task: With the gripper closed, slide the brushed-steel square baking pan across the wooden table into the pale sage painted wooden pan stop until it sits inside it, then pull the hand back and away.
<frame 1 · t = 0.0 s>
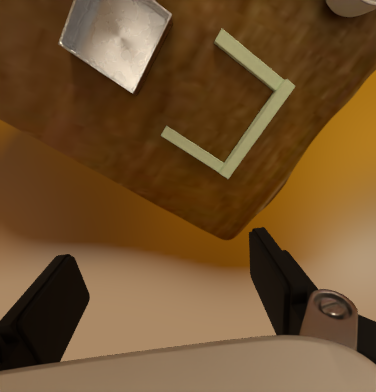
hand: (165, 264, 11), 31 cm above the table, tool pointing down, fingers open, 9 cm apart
pan stop: (217, 107, 37), on the table
baking pan: (120, 37, 33), on the table
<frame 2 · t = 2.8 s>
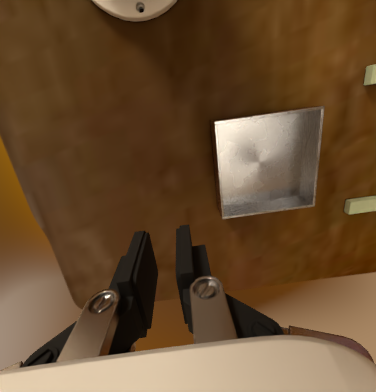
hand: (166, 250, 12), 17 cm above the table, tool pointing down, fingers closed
baking pan: (258, 161, 28), on the table
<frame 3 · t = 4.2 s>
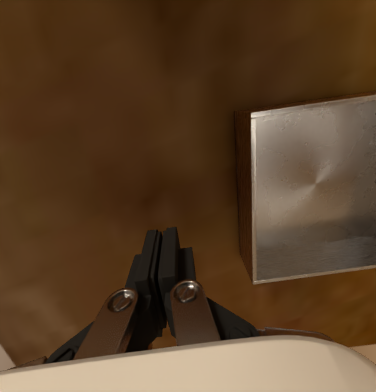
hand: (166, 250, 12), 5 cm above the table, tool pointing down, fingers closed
baking pan: (313, 182, 16), on the table
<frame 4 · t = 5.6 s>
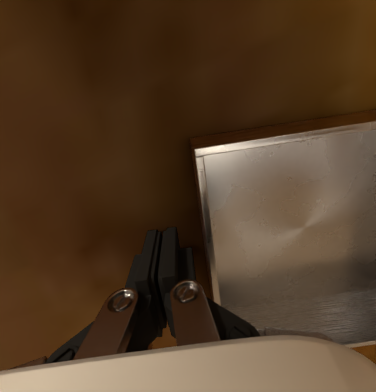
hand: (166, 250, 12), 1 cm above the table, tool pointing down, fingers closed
baking pan: (301, 224, 13), on the table, touching gripper
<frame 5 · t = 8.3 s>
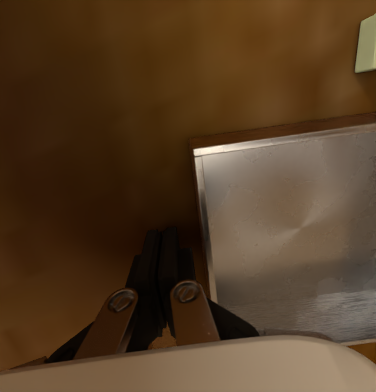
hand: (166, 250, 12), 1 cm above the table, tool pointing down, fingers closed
baking pan: (298, 225, 13), on the table, touching gripper
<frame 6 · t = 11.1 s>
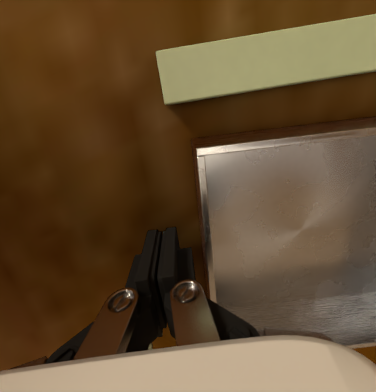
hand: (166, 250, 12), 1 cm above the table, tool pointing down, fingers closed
pan stop: (290, 222, 13), on the table
baking pan: (298, 227, 13), on the table, touching gripper
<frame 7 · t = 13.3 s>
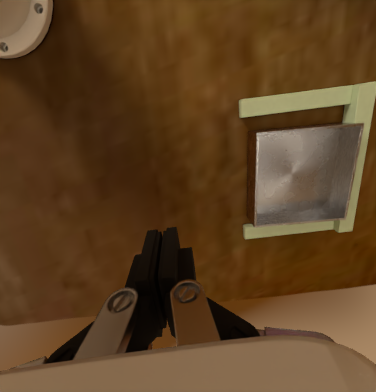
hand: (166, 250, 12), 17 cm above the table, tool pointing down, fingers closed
pan stop: (286, 170, 28), on the table
baking pan: (290, 172, 29), on the table, touching pan stop
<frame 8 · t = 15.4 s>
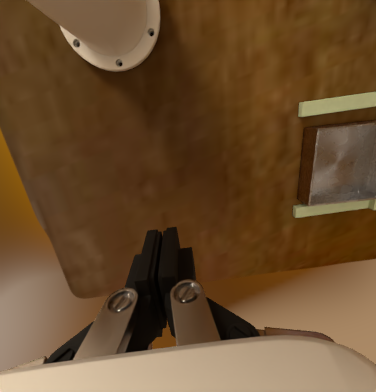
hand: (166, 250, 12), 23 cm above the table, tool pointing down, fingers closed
pan stop: (332, 159, 35), on the table
baking pan: (336, 161, 35), on the table, touching pan stop
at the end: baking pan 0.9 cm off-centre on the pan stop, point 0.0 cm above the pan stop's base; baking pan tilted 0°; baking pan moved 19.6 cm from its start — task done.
